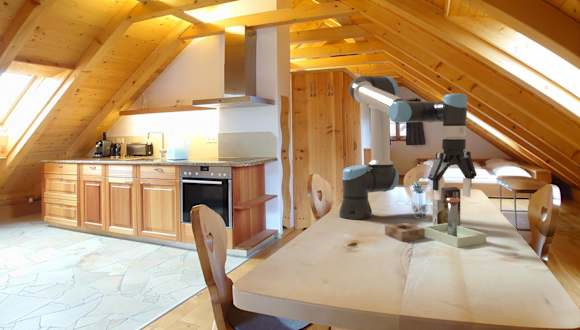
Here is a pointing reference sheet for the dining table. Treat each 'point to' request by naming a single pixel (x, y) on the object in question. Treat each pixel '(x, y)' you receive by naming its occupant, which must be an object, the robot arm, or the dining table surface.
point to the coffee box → (445, 205)
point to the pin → (452, 215)
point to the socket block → (404, 232)
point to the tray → (462, 239)
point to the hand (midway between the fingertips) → (452, 197)
